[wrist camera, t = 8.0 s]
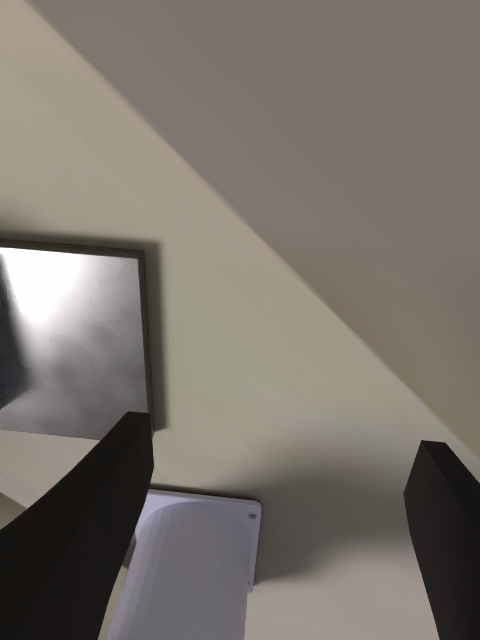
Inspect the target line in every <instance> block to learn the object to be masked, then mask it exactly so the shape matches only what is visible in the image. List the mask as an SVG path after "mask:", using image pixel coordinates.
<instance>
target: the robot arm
mask: <svg viewBox="0 0 480 640" xmlns="http://www.w3.org/2000/svg"><path fill="white" fill-rule="evenodd" d="M153 469H154V459H153V444H152V429H151V414H150V413H142V412H132V411H128V412H127V413H125V414H124V415H123V416H122V418H121V419H120V420H119V421H118V422H117V423H116V424H115V425H114V426H113V428H112V429H111V430H110V431H109V432H108V433H107V434H106V435H105V436H104V437H103V438H102V439H101V440H100V442H99V443H98V444H97V445H96V446H95V447H94V448H93V449H92V450H91V451H90V452H89V453H88V454H87V455H86V456H85V457H84V458H83V459H82V460H81V461H80V462H79V463H78V464H77V465H76V466H75V467H74V468H73V469H72V470H71V471H70V472H69V473H68V474H67V475H65V476H64V477H63V478H62V479H61V480H60V481H59V482H58V483H57V484H56V485H55V486H53V487H52V488H51V489H50V490H49V491H48V492H47V493H46V494H45V495H43V496H42V497H41V498H40V499H39V500H38V501H36V502H35V503H34V504H33V505H32V506H30V507H29V508H28V509H27V510H25V511H24V512H23V513H22V514H20V515H19V516H18V517H17V518H15V519H14V520H13V521H12V522H10V523H9V524H8V525H6V526H5V527H4V528H2V529H1V530H0V640H98V636H99V633H100V630H101V626H102V623H103V619H104V615H105V612H106V608H107V604H108V601H109V598H110V595H111V592H112V590H113V586H114V584H115V581H116V578H117V576H118V573H119V570H120V568H121V565H122V563H123V560H124V557H125V555H126V552H127V549H128V547H129V544H130V542H131V539H132V536H133V534H134V531H135V534H136V547H135V550H134V553H133V556H132V559H131V563H130V566H129V569H128V572H127V575H126V578H125V582H124V585H123V588H122V591H121V594H120V598H119V601H118V604H117V607H116V611H115V613H114V617H113V620H112V623H111V626H110V629H109V632H108V636H107V639H106V640H244V634H245V620H246V607H247V595H249V594H251V593H252V591H253V582H254V573H255V564H256V555H257V546H258V537H259V528H260V519H261V508H262V507H261V504H260V503H259V502H257V501H253V500H244V499H235V498H226V497H217V496H208V495H199V494H190V493H181V492H172V491H163V490H154V489H149V486H150V481H151V477H152V473H153ZM404 499H405V506H406V513H407V519H408V525H409V531H410V535H411V539H412V543H413V546H414V550H415V553H416V557H417V560H418V564H419V567H420V571H421V574H422V578H423V581H424V585H425V588H426V592H427V595H428V599H429V602H430V606H431V609H432V612H433V616H434V619H435V623H436V627H437V631H438V635H439V639H440V640H480V483H479V482H478V481H477V480H476V479H475V478H474V476H473V475H472V474H471V473H470V472H469V470H468V469H467V468H466V467H465V466H464V464H463V463H462V462H461V461H460V460H459V458H458V457H457V456H456V455H455V454H454V452H453V451H452V450H451V449H450V448H449V446H448V445H447V444H446V443H444V442H434V441H424V440H421V443H420V446H419V449H418V452H417V455H416V458H415V461H414V464H413V467H412V470H411V473H410V476H409V479H408V482H407V485H406V488H405V491H404Z"/></svg>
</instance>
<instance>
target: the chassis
mask: <svg viewBox="0 0 480 640" xmlns="http://www.w3.org/2000/svg"><path fill="white" fill-rule="evenodd" d="M128 411H132V412H142V413H150V414H151V429H152V438H153V435H154V416H153V399H152V381H151V364H150V347H149V330H148V313H147V296H146V279H145V261H144V251H142V250H130V249H118V248H105V247H93V246H81V245H69V244H57V243H44V242H32V241H20V240H8V239H0V430H9V431H19V432H28V433H38V434H47V435H57V436H66V437H76V438H85V439H94V440H101V439H102V438H103V437H104V436H105V435H106V434H107V433H108V432H109V431H110V430H111V429H112V428H113V426H114V425H115V424H116V423H117V422H118V421H119V420H120V419H121V418H122V416H123V415H124V414H125V413H127V412H128Z"/></svg>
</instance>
